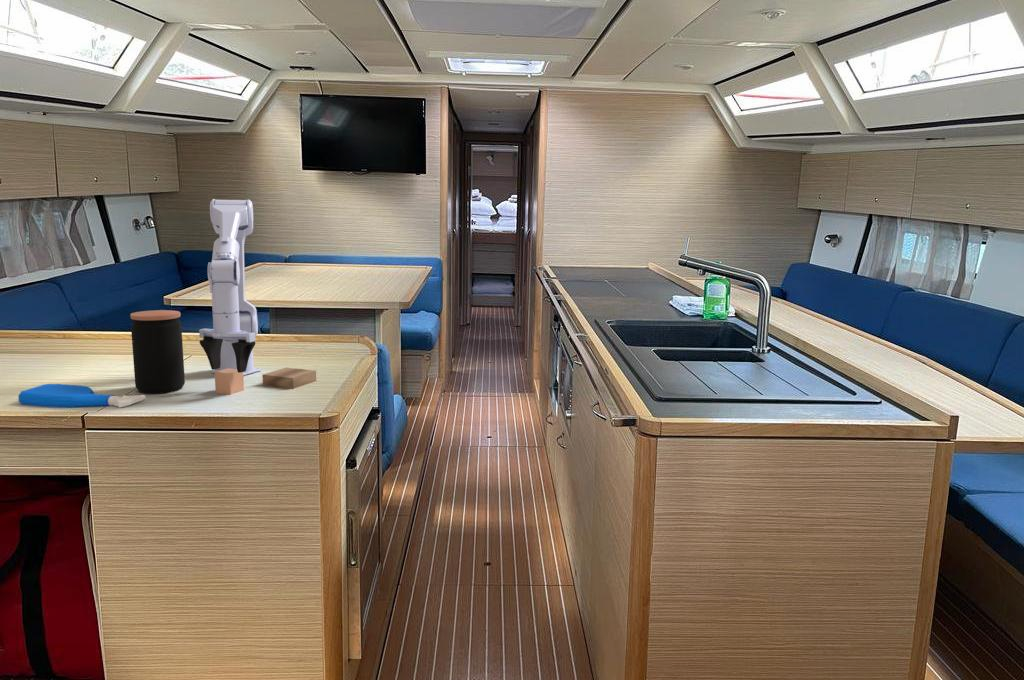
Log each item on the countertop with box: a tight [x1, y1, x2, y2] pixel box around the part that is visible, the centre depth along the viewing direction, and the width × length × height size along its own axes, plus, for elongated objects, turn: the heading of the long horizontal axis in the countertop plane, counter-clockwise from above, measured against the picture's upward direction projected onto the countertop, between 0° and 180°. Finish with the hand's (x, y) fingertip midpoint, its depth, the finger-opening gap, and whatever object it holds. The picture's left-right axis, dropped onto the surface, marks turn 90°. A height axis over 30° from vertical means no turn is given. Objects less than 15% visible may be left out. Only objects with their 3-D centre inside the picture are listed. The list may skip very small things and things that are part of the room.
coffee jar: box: [129, 309, 186, 395], centre depth 179 cm, size 11×11×18 cm
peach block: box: [214, 368, 245, 395], centre depth 179 cm, size 4×4×5 cm
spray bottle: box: [18, 383, 146, 409], centre depth 168 cm, size 3×11×24 cm
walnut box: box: [262, 367, 317, 389], centre depth 189 cm, size 9×9×3 cm
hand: (228, 370), depth 179 cm, fingers open, 7 cm apart
